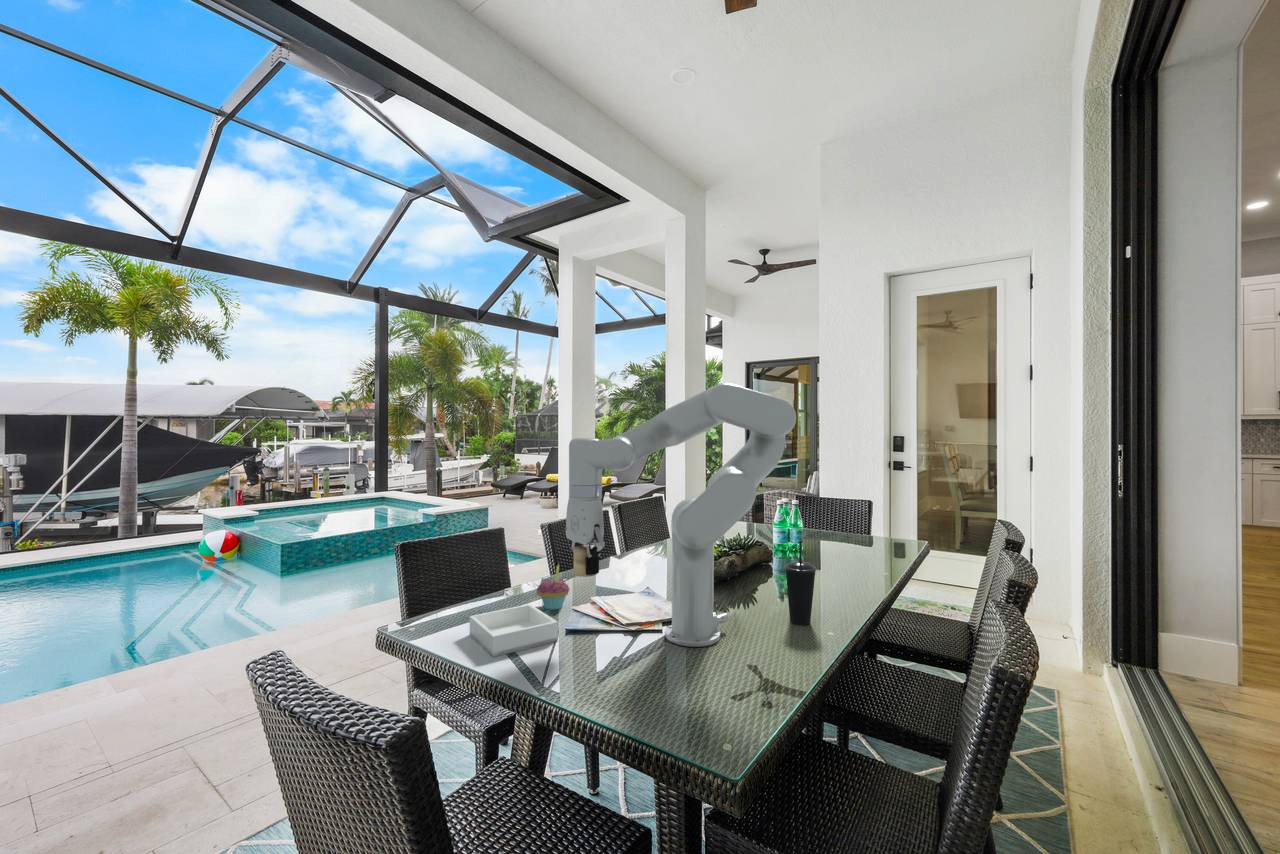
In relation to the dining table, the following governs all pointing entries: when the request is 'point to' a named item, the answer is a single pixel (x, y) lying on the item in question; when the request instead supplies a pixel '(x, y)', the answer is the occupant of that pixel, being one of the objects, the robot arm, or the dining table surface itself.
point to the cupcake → (553, 592)
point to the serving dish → (513, 629)
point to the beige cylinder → (580, 561)
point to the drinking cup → (800, 589)
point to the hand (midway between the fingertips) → (585, 570)
